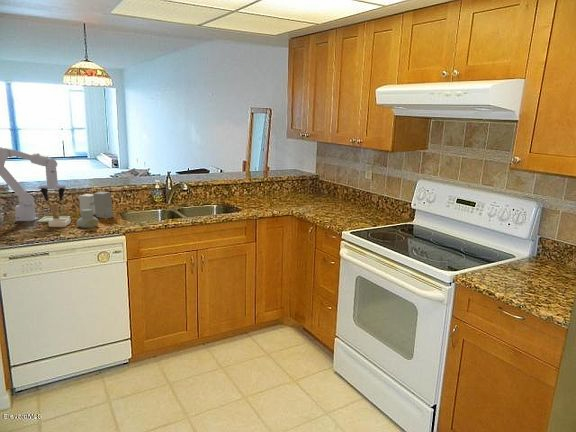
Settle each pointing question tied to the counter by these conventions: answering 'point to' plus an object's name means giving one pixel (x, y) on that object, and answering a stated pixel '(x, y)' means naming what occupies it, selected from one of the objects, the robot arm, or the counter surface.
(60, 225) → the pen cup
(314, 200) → the counter surface
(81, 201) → the supplement box
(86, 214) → the air freshener
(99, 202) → the skincare box
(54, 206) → the dowel
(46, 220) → the tray
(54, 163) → the robot arm
